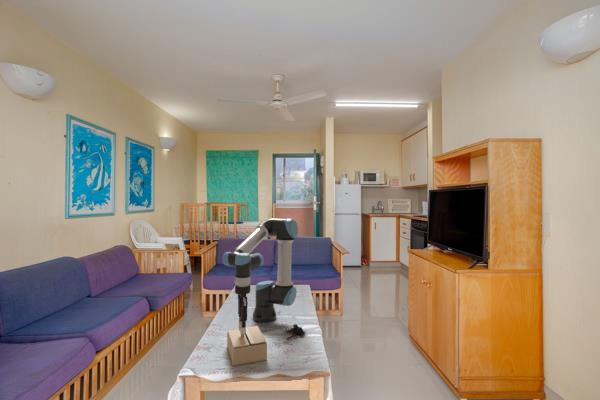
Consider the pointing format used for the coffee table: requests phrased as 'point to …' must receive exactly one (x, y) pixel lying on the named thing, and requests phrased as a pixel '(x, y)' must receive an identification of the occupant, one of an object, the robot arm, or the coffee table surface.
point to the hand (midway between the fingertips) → (242, 331)
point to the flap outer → (238, 338)
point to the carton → (249, 348)
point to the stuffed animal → (295, 331)
